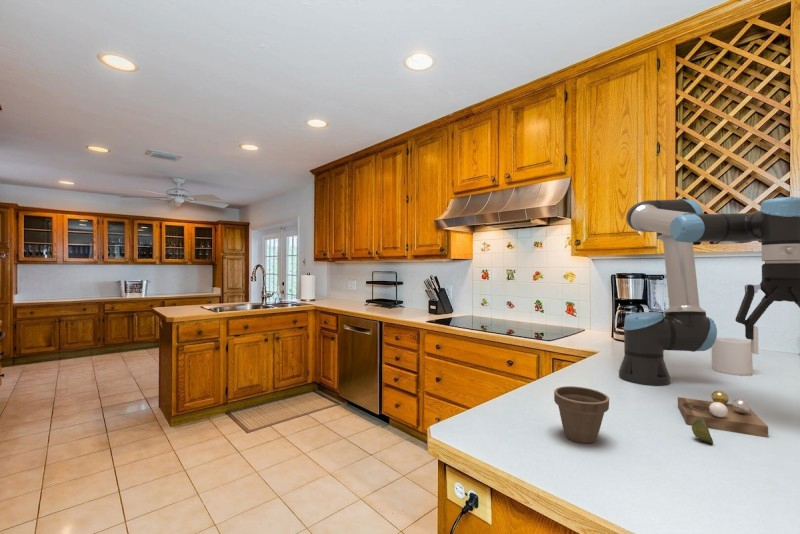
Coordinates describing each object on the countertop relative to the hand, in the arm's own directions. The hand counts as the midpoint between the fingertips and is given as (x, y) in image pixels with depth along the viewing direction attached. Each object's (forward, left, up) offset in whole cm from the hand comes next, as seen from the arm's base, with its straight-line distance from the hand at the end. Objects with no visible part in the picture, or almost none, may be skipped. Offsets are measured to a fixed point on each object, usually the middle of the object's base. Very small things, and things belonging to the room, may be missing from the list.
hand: (784, 355), depth 91 cm
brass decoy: (-11, +6, -14) cm, 18 cm away
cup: (+3, +64, -18) cm, 66 cm away
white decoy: (-14, -6, -14) cm, 20 cm away
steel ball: (-8, 0, -14) cm, 16 cm away
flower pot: (-42, -29, -18) cm, 54 cm away
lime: (-18, -17, -18) cm, 31 cm away
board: (-13, 0, -18) cm, 22 cm away
